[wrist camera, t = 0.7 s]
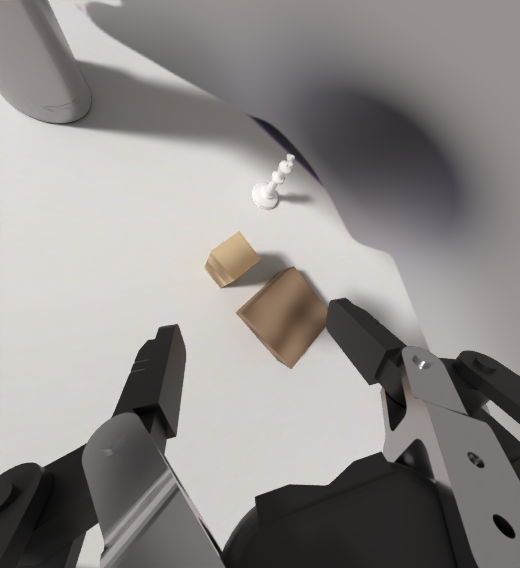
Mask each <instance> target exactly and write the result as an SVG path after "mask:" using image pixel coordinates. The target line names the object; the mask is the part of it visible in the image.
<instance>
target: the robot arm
mask: <svg viewBox="0 0 520 568" xmlns="http://www.w3.org/2000/svg"><path fill="white" fill-rule="evenodd" d="M0 94H1V95H2V96H3V97H4V98H5V99H6V100H7V101H8V102H9V103H10V104H11V105H12V106H13V107H15V108H16V109H17V110H19V111H21V112H22V113H24V114H26V115H28V116H30V117H33V118H35V119H38V120H42V121H45V122H52V123H67V122H73V121H75V120H78V119H80V118H82V117H83V116H84V115H86V113H87V112H88V111H89V109H90V106H91V94H90V91H89V88H88V86H87V84H86V82H85V80H84V77H83V75H82V73H81V71H80V69H79V67H78V65H77V62H76V60H75V58H74V56H73V53H72V51H71V49H70V47H69V45H68V43H67V40H66V38H65V36H64V34H63V32H62V30H61V27H60V25H59V23H58V21H57V19H56V17H55V14H54V12H53V10H52V8H51V6H50V4H49V1H48V0H0ZM326 328H327V330H328V332H329V333H330V335H331V336H332V337H333V339H334V340H335V341H336V343H337V344H338V345H339V346H340V348H341V349H342V350H343V352H344V353H345V354H346V356H347V357H348V358H349V359H350V361H351V362H352V363H353V365H354V366H355V367H356V369H357V370H358V371H359V372H360V374H361V375H362V376H363V378H364V379H365V380H366V382H367V383H368V384H369V385H373V384H376V383H380V384H381V386H382V388H381V399H382V408H383V416H384V425H385V443H384V447H383V453H382V452H379V453H376V454H373V455H370V456H368V457H365V458H362V459H359V460H356V461H354V462H353V463H351V464H350V465H349V466H348V467H347V468H346V469H345V470H344V471H343V472H342V473H341V474H340V475H339V476H338V477H337V478H336V479H335V480H334V481H332V482H331V483H330V484H329V485H326V486H320V485H292V484H289V485H287V486H284V487H281V488H278V489H275V490H273V491H270V492H267V493H264V494H261V495H259V496H256V497H255V503H256V506H255V507H253V508H252V509H251V510H250V511H249V512H248V513H247V514H246V515H245V516H244V517H243V518H242V519H241V521H240V522H239V523H238V525H237V526H236V528H235V529H234V530H233V532H232V534H231V536H230V537H229V539H228V541H227V543H226V545H225V547H224V549H223V551H222V550H221V548H220V546H219V545H218V543H217V541H216V540H215V538H214V536H213V535H212V533H211V531H210V530H209V528H208V526H207V525H206V523H205V521H204V520H203V518H202V516H201V515H200V513H199V511H198V510H197V508H196V507H195V505H194V504H193V502H192V500H191V499H190V497H189V495H188V494H187V492H186V490H185V489H184V487H183V485H182V483H181V482H180V480H179V478H178V477H177V475H176V473H175V472H174V470H173V468H172V467H171V465H170V463H169V462H168V460H167V458H166V457H165V455H164V453H165V447H166V440H167V439H169V438H173V437H176V435H177V427H178V419H179V411H180V403H181V395H182V387H183V379H184V371H185V363H186V349H185V345H184V341H183V338H182V335H181V332H180V328H179V326H178V324H175V325H169V326H162V327H159V329H158V332H157V335H156V338H155V339H153V340H148V341H147V342H146V343H145V344H144V345H143V346H142V348H141V349H140V350H139V352H138V354H137V357H136V359H135V364H133V367H132V369H131V373H130V374H129V377H128V379H127V381H126V384H125V386H124V389H123V391H122V394H121V396H120V399H119V401H118V404H117V406H116V409H115V411H114V413H113V416H112V417H111V419H109V420H108V421H106V422H105V423H104V424H103V425H101V426H100V427H99V428H98V429H97V430H96V431H95V433H94V434H93V435H92V436H91V438H90V439H89V441H88V443H86V444H85V445H83V446H81V447H80V448H78V449H76V450H74V451H72V452H70V453H69V454H67V455H65V456H63V457H61V458H59V459H58V460H56V461H54V462H52V463H50V464H48V465H47V466H45V467H41V466H39V465H38V464H36V463H24V464H20V465H18V466H15V467H13V468H11V469H9V470H7V471H6V472H4V473H2V474H1V475H0V568H75V567H76V564H77V561H78V557H79V554H80V551H81V548H82V544H83V541H84V538H85V535H86V531H88V530H89V529H90V528H92V527H93V526H94V525H96V524H97V523H99V524H100V528H101V531H102V535H103V539H104V551H103V552H102V554H101V558H100V568H520V441H518V440H517V439H516V438H515V437H514V436H513V435H512V434H511V433H509V432H508V431H507V430H506V429H505V428H504V427H503V426H502V425H500V424H499V423H498V422H497V421H496V420H495V419H494V418H493V417H492V416H490V415H489V414H488V413H487V412H486V411H485V410H484V409H483V408H481V407H483V406H484V405H485V404H486V403H487V402H488V401H489V400H492V401H493V402H494V403H495V404H496V405H497V406H499V407H500V408H501V409H502V410H504V411H505V412H506V413H507V414H508V415H509V416H511V417H512V418H513V419H514V420H516V421H517V422H518V423H519V424H520V376H519V375H517V374H515V373H514V372H512V371H511V370H509V369H508V368H506V367H505V366H504V365H502V364H501V363H499V362H498V361H496V360H494V359H492V358H491V357H488V356H486V355H484V354H481V353H478V352H475V351H463V352H461V353H460V354H459V356H458V357H457V358H456V359H446V358H438V357H436V356H435V355H434V354H432V353H430V352H429V351H427V350H425V349H422V348H419V347H414V346H406V345H405V344H404V343H403V342H402V341H401V340H399V339H398V338H397V337H396V336H395V335H394V334H392V333H391V332H390V331H389V330H388V329H387V328H385V327H384V326H383V325H382V324H380V322H378V321H377V320H376V319H374V318H373V317H372V316H371V315H370V314H369V313H368V312H367V311H365V310H363V309H362V308H360V307H358V306H355V305H354V304H352V303H351V302H350V301H349V300H348V299H346V298H341V299H335V300H331V301H330V303H329V308H328V312H327V317H326Z"/></svg>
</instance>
